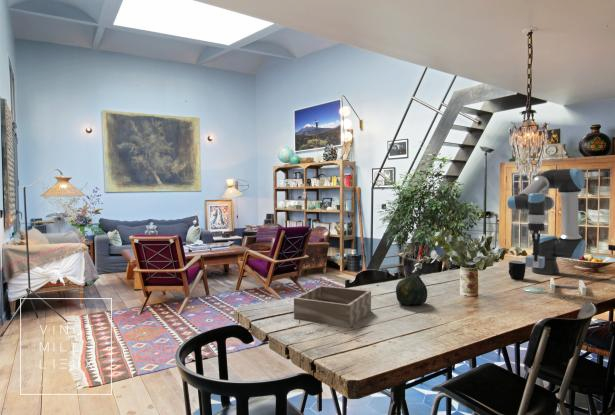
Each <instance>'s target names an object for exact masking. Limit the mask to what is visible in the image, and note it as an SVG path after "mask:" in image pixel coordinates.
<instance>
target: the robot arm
mask: <svg viewBox="0 0 615 415" xmlns="http://www.w3.org/2000/svg"><path fill="white" fill-rule="evenodd" d="M585 186H586V178H585V174H584V172H583V170H581V169H579V168H561V169H560V168H558V169H557V168H556V169H553V168H552V169H548V170H545V171H543V172H541V173H540V174H538V175H536V176H535V177H534V178H533V179H532V181H531V183H530V184H529V185H527V186H526V187H525V188H524V189H523V190H522V191H521V192H520V193H518V194H517V195H510V196H508V198H507V201H506V202H507V208H508V209H510V210H515V211H517V210H520V211H521V210H522V211H523V210H524V211H528V213H527V214H528V216H527V217H526V218H527V221H528V224H527V230H528V231H533V232H532V233H531V238H532V240H531V241H532V244H533V245H532V253H530V254H531V255H532V256H533V267H531V272H532V273H534V274H538V275H548V276H554V275H555V276H556V275H559V274H560V269H559V264H558V262H557V258H561V259H562V258H563V259H571V260H580V259H582V258H583V257H584V255H585V252H586V248H587V243H586V240H584V239H583V237H582V235H581V234H580V233H579V232H580V231H579V230H580V229H579V225H580V224H579V223H580V222H579V194H580V193H581V192H582V190H583V189H584V188H585ZM549 189H554V190H555V189H557V193H559V194H560V196H561V200H560V202H561V234H560V235H558V236H557V235H541V233H539V231H540V232H543V231H545V219H546V218H545V216H546V215H545V213H546V212H545V211H549V210H552V209H553V207H554V206H555V200H554V199H553V198H552V197H550V196H547V195H546V194H545V193H543V192H544V191H547V190H549ZM539 256H545V264H544V267H543V268H539ZM534 267H535V268H534Z"/></svg>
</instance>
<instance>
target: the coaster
mask: <svg viewBox="0 0 615 415" xmlns="http://www.w3.org/2000/svg"><path fill="white" fill-rule="evenodd" d="M522 290H523V291H524V292H527V293H533V294H545V293H547V292H548V290H547V289H545V288H543V287H537V286H525V287H523V289H522Z"/></svg>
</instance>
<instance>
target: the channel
mask: <svg viewBox="0 0 615 415" xmlns="http://www.w3.org/2000/svg"><path fill="white" fill-rule="evenodd" d="M549 280H550V281H549V282H550V283H549V286H550V292H551V293H552V294H553V293H554V294H555V293H556V292H555V291H556V290H555V289H556V286H555V285H556V284H555V279H554V278H553V277H550V278H549ZM578 289H579V292H580V293H581V295H582V296H585V297H586V295H587V287H586V285H585V283H584V280H581V279H579V280H578Z"/></svg>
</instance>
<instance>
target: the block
mask: <svg viewBox="0 0 615 415" xmlns="http://www.w3.org/2000/svg"><path fill="white" fill-rule="evenodd" d="M525 262H526V265H525V267H527V268H532V267H533V255H529V254H528V255H525ZM544 264H545V256H539V268H543V267H544ZM534 268H535V267H534Z"/></svg>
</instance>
